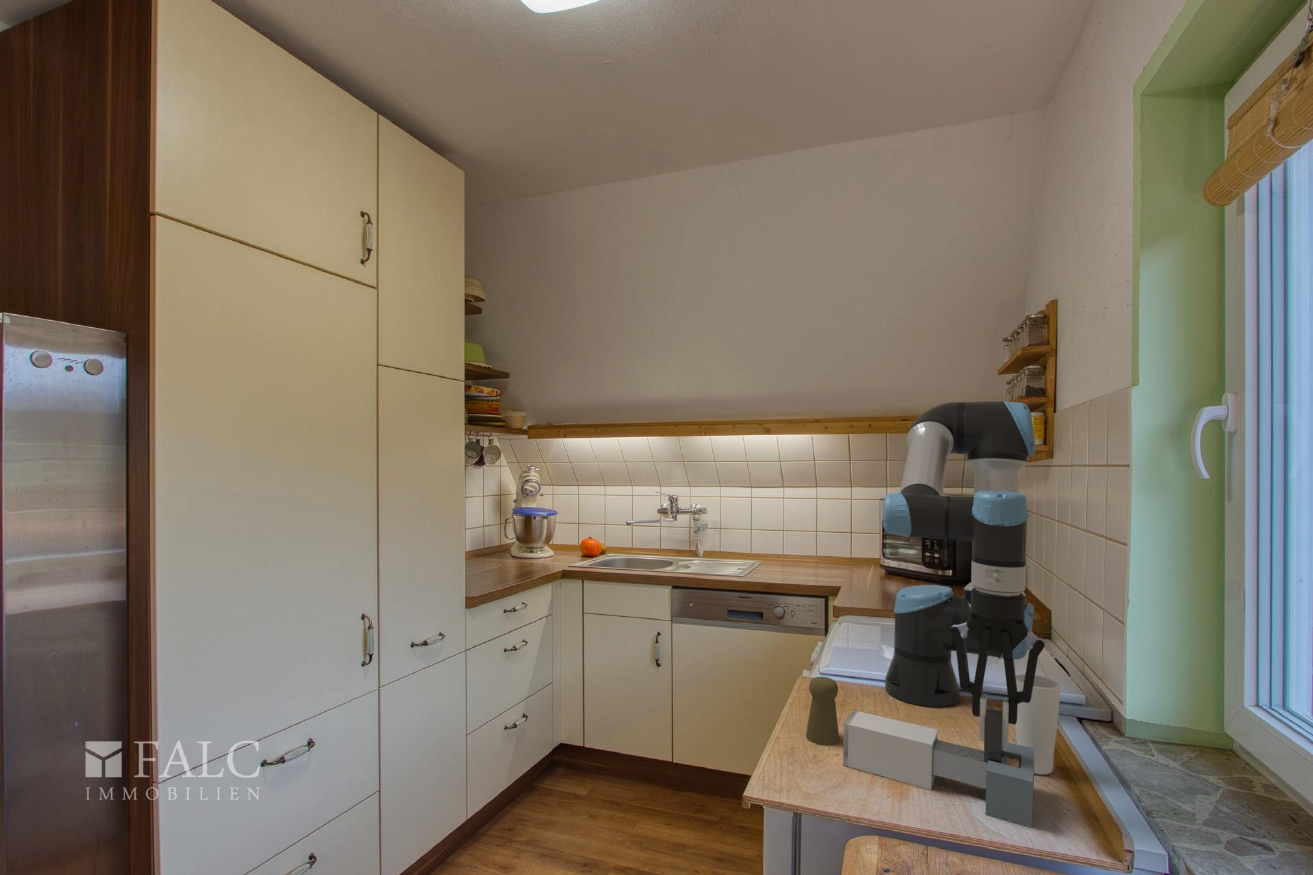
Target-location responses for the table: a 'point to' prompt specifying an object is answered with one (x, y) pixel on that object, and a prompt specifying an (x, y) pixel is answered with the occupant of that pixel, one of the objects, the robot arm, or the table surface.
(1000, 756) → the sliding bolt
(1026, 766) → the socket
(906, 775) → the sleeve
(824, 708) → the olive knob-topped post
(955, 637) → the robot arm
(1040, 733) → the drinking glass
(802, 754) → the table surface
